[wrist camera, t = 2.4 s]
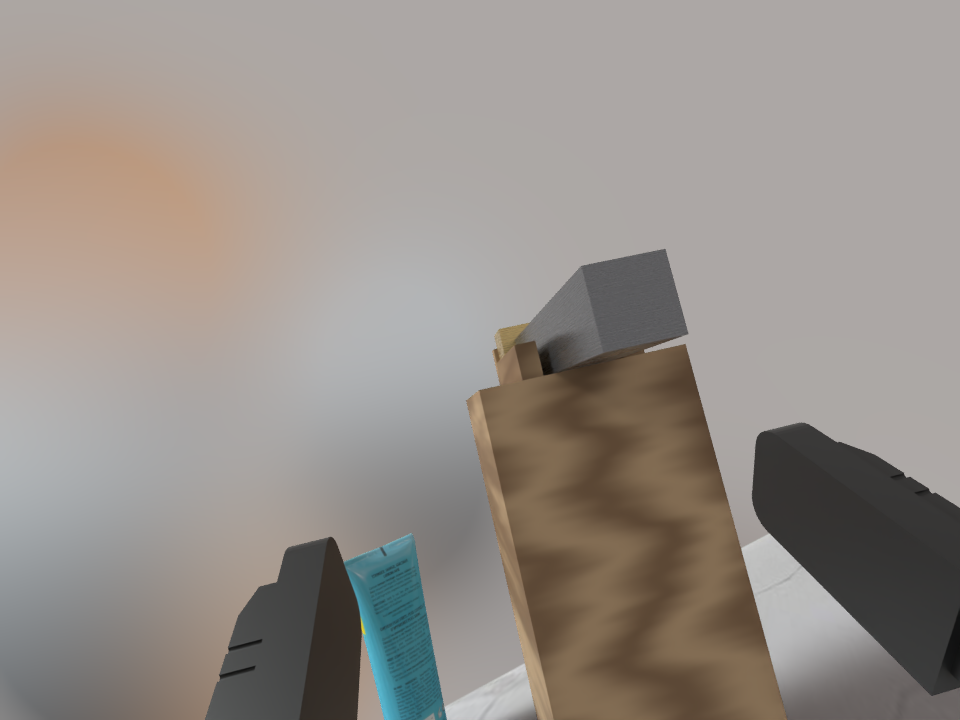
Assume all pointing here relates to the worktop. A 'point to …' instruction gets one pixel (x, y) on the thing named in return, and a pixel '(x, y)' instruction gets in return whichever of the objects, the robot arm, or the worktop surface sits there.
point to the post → (620, 542)
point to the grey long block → (603, 314)
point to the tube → (397, 631)
